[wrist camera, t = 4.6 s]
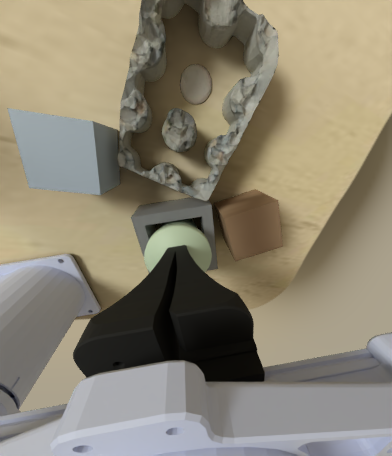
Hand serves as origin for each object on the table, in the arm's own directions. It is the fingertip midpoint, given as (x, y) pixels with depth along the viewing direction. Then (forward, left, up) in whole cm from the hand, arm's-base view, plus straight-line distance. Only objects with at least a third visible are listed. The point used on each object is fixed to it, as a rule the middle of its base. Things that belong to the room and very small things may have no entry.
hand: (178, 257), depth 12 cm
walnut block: (+6, 0, -5) cm, 8 cm away
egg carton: (+2, +9, -5) cm, 11 cm away
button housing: (0, 0, -5) cm, 5 cm away
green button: (0, 0, -4) cm, 4 cm away
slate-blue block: (-6, +7, -5) cm, 11 cm away
